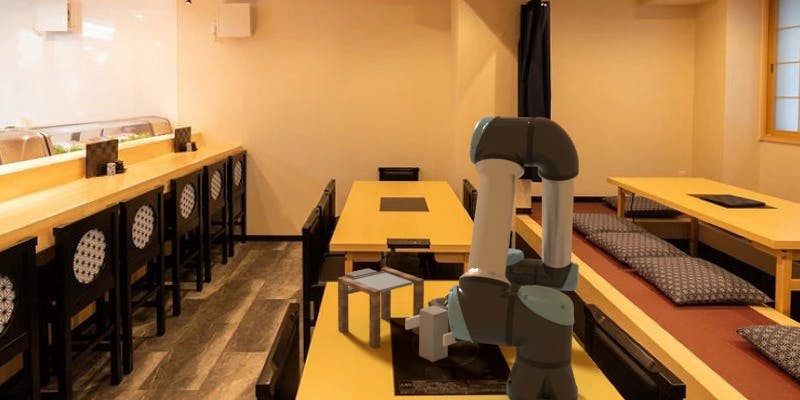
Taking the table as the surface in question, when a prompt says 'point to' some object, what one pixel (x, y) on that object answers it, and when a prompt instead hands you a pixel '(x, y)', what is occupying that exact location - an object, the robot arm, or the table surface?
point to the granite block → (433, 333)
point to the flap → (378, 279)
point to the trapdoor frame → (376, 303)
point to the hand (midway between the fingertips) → (424, 332)
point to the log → (439, 302)
